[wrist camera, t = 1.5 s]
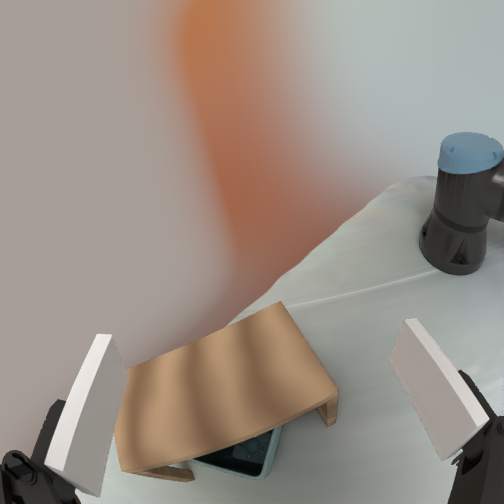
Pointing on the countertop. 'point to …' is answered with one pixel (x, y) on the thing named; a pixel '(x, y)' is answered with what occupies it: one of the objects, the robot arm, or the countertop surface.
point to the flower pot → (245, 456)
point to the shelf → (219, 394)
